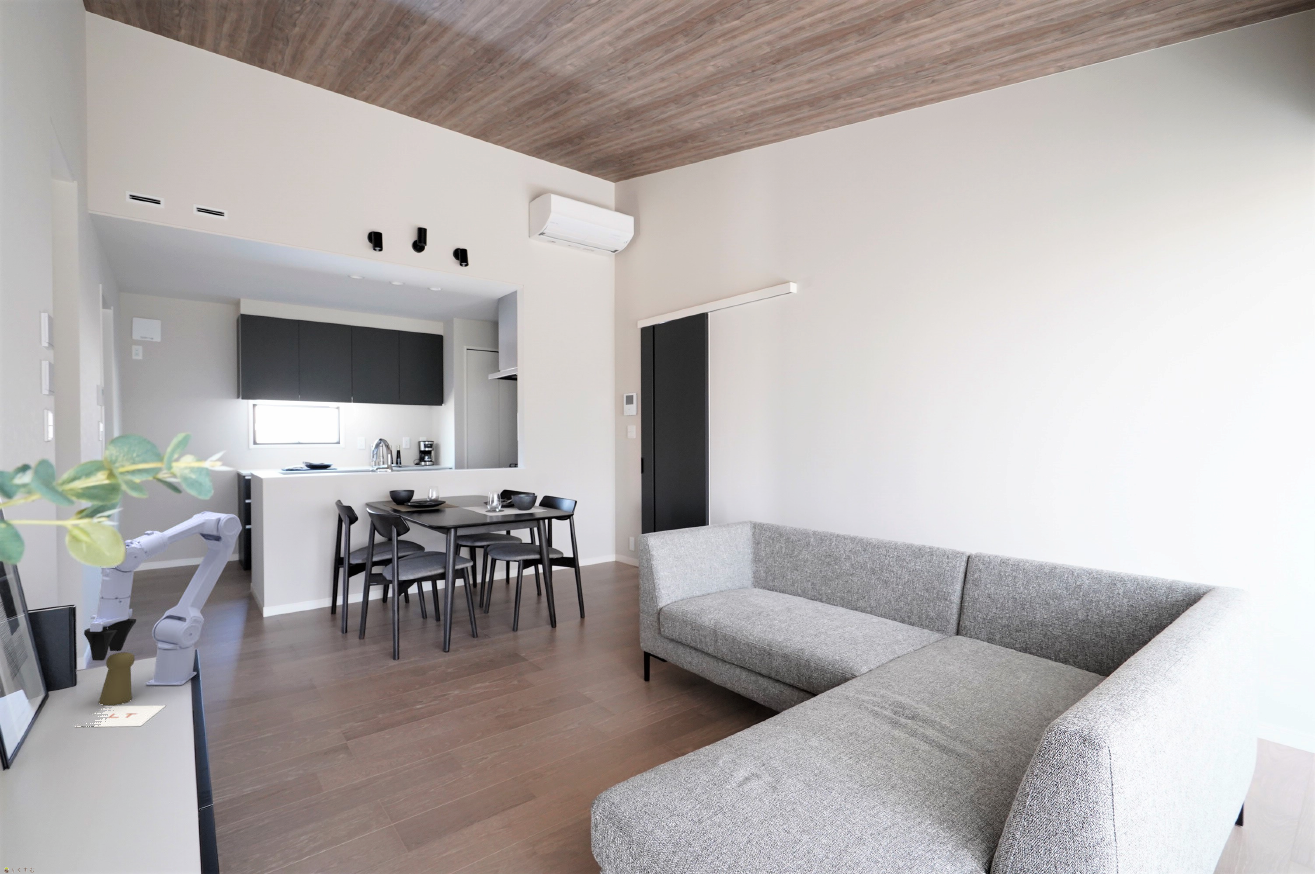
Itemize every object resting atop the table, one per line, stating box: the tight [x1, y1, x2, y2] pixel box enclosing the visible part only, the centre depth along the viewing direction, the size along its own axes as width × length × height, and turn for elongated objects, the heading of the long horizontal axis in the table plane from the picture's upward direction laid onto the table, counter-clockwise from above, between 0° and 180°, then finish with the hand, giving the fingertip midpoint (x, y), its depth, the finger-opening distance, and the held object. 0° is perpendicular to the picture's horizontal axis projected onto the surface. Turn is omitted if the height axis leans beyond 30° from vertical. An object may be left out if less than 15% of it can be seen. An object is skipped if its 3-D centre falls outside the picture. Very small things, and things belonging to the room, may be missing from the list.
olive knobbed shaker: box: [98, 651, 136, 706], centre depth 154 cm, size 6×6×11 cm
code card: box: [74, 705, 166, 728], centre depth 146 cm, size 12×12×1 cm
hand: (107, 655), depth 154 cm, fingers open, 7 cm apart
